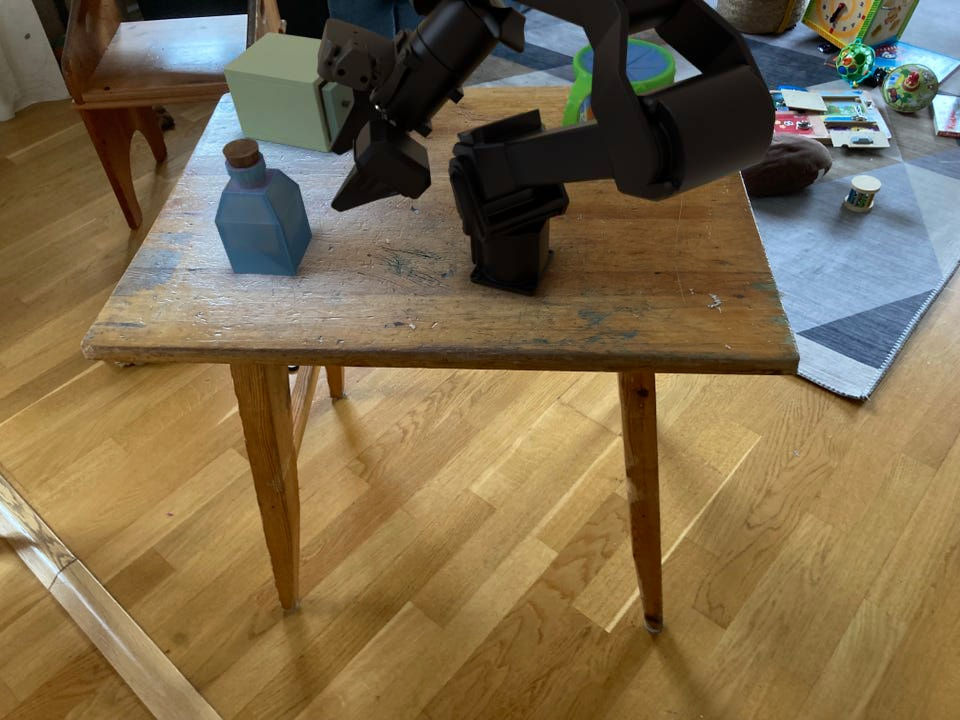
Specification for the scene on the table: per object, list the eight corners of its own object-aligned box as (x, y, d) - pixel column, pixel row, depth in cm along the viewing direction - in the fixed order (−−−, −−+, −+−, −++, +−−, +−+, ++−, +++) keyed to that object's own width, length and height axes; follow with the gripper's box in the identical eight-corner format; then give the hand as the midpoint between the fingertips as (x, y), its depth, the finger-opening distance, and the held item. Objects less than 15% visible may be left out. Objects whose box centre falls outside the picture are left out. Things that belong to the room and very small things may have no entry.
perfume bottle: (294, 276, 72) (262, 169, 63) (233, 272, 72) (193, 166, 64) (312, 236, 76) (284, 130, 67) (254, 233, 76) (219, 128, 68)
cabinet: (365, 112, 92) (353, 44, 86) (327, 153, 86) (312, 83, 80) (285, 98, 95) (268, 31, 89) (243, 136, 89) (222, 68, 83)
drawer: (406, 115, 89) (399, 60, 84) (375, 152, 84) (365, 96, 79) (300, 97, 93) (287, 44, 88) (264, 131, 88) (248, 76, 83)
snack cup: (635, 105, 91) (646, 21, 83) (698, 143, 85) (715, 56, 77) (532, 147, 85) (534, 62, 78) (591, 190, 79) (598, 102, 72)
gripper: (361, -57, 63) (264, 79, 71) (368, 41, 51) (249, 193, 58) (458, 27, 70) (359, 143, 77) (485, 132, 57) (364, 258, 65)
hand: (335, 179), depth 69 cm, fingers open, 9 cm apart
